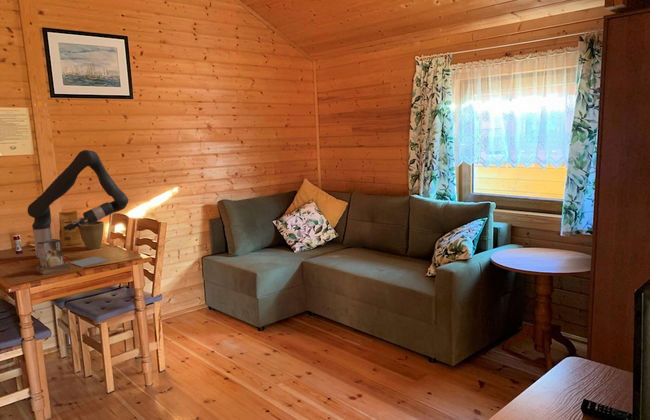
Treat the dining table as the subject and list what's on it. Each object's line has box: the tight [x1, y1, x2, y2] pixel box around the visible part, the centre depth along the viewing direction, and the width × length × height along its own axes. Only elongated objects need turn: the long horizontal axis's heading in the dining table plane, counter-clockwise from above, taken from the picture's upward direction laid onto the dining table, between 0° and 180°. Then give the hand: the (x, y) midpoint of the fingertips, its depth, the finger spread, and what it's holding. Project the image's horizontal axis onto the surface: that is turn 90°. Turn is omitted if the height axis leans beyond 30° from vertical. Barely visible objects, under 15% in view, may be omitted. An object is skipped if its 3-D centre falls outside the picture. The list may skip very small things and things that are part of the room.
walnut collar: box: [35, 261, 71, 275], centre depth 262 cm, size 10×13×3 cm
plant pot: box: [78, 220, 105, 251], centre depth 309 cm, size 15×15×16 cm
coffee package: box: [58, 209, 82, 247], centre depth 323 cm, size 10×12×22 cm
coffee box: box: [37, 238, 65, 268], centre depth 261 cm, size 9×6×16 cm
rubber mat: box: [68, 256, 109, 268], centre depth 276 cm, size 15×15×1 cm
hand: (66, 228), depth 268 cm, fingers open, 8 cm apart
